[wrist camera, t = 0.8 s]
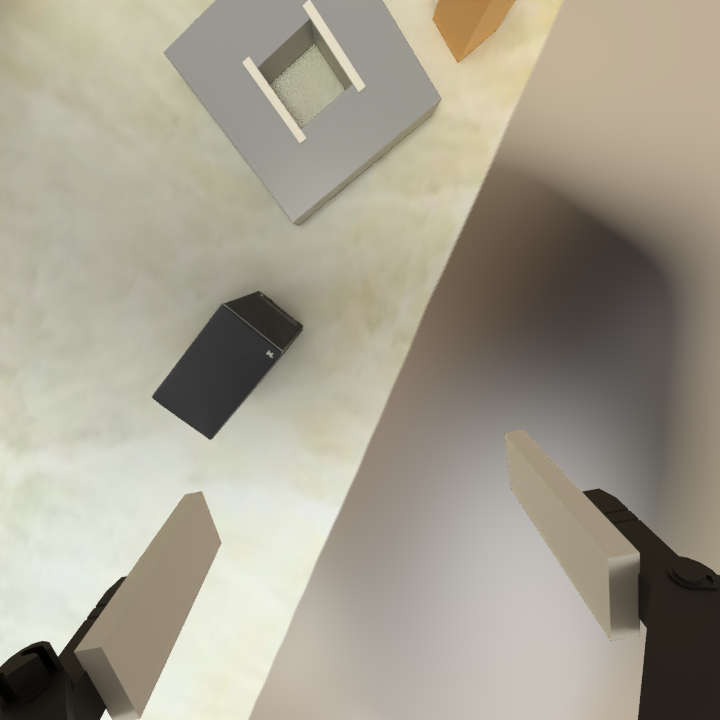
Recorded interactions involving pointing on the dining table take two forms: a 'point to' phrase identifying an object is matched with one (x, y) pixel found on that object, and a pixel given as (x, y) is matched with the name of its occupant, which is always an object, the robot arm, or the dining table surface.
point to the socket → (333, 124)
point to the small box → (227, 362)
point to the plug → (469, 22)
